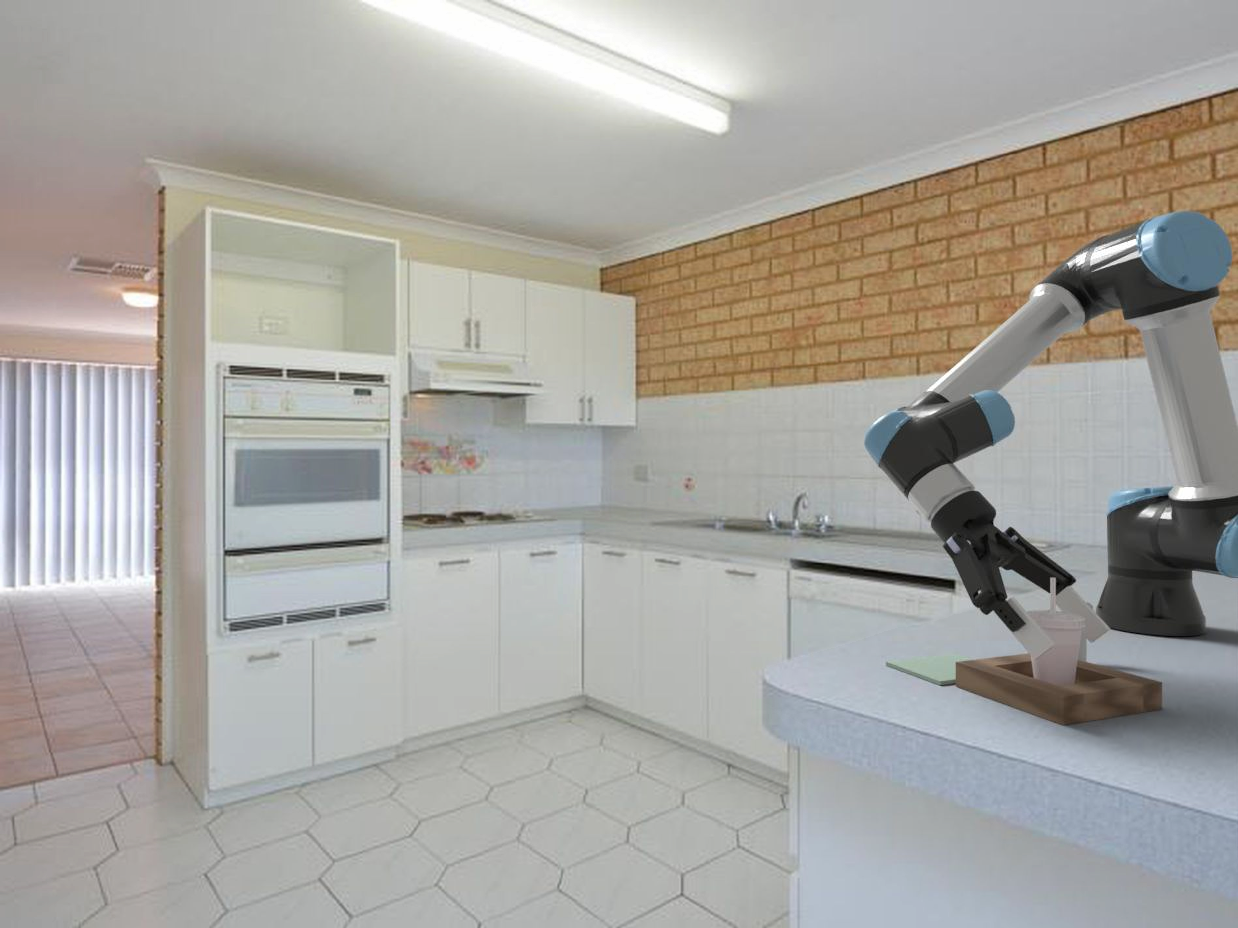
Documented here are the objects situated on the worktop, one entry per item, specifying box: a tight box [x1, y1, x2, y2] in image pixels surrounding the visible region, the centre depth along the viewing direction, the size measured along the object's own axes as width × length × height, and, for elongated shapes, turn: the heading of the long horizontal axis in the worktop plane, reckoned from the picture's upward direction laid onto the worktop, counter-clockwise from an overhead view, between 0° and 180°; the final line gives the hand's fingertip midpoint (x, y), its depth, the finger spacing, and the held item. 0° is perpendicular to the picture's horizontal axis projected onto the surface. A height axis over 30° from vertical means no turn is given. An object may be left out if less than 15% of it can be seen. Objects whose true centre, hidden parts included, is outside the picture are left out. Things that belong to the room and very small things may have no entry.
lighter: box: [1078, 601, 1094, 662], centre depth 107 cm, size 7×2×8 cm, turn 134°
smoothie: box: [1026, 577, 1085, 686], centre depth 91 cm, size 6×6×14 cm
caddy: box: [955, 652, 1163, 726], centre depth 91 cm, size 15×15×3 cm
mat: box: [885, 653, 975, 686], centre depth 103 cm, size 12×10×1 cm
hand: (1074, 644), depth 89 cm, fingers open, 13 cm apart
